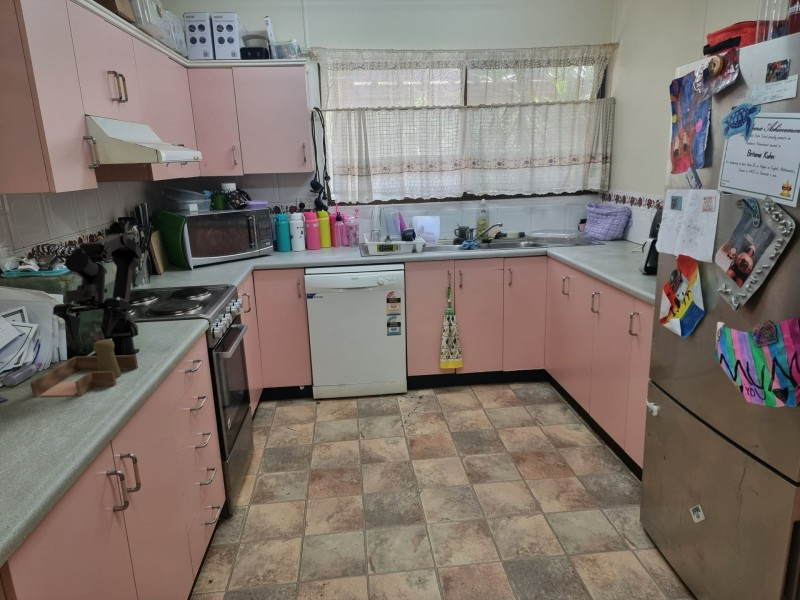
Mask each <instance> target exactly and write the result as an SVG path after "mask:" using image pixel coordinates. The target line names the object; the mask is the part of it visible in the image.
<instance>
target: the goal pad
mask: <svg viewBox="0 0 800 600" xmlns="http://www.w3.org/2000/svg"><path fill="white" fill-rule="evenodd" d="M76 381H77V380H69V381H68V380H67V381H65V380H62V381H61V382H59V383H58V384H56V385H55V386H53V387H52V388H50V389H48V390H47V391H45V392H44V393H42V394H41V395H39V396H40V397H41V398H42V397H48V398H49V397H50V398H51V397H75V396H76V395H78V394H77V389H76V384H75V382H76Z"/></svg>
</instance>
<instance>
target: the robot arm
mask: <svg viewBox="0 0 800 600" xmlns="http://www.w3.org/2000/svg"><path fill="white" fill-rule="evenodd" d="M142 255H143V254H142V250H141V248H140V246H139V244H138V243H137V242H136V241H135V240H132V239H130V238H128V235H126V234H125V233H123V232H121V233H110V234H107V236H105V237H103V238H101V239H100V240H97V241H91V242H82V243H80V244H79V246H78V247H77V248H74V249H73V253H71V254H70V255H68V256H67V258H66V260H65V262H64V263H65V266H66V267H65V268H66V269H67V270H68V271H70V272H71V273H73V275H75V276H77V277H78V278H80V279H81V280H80V281H81V284H80V285H78V286H77V288H76V289H73V290H65V291H64V293H65V300H66V303H58V304H56V305H54V306H53V308H52V315H54V316H57V317H58V318H61V319H62V320H63V321H64V323H65V324H66V327H67V329H68V332H69V335H70V337H71V341H72V340H73V341H76V340H77V338H78V334H79V329H80V323H81V319H82V318H81V317H79V316H80V315H81V313H89V312H97V311H103V313H102V318H101V323H100V328H101V332H102V334H103V337H104V339H110V340H112V341H113V342H114V350H113V351H114V354H115V356H116V355H137V353H139V351H140V350H141V349H140V348H135V343H134V338H135V337H136V336H139V326H138V325H137V323H136V322H135V321H134V319H133V316H132V314H131V312H130V296H131V288H132V279H133V273H134V271H135V270H136V269H137V268H138V267H139V266H140V260H141V259H142ZM110 259H112V262H113V264H114V265H115V267H116V271H115V277H114V285H113V292H112V297H106V299H105V294H107V293H108V289H107V288H106V287H105V285H106V274H108V271H107V269H106V268H105V266H104V265H103V264H101V263H102V262H103V263H104V262H109V261H110ZM72 302H74V304H76V305H74V304H71V303H72Z"/></svg>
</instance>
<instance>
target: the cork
mask: <svg viewBox="0 0 800 600" xmlns="http://www.w3.org/2000/svg"><path fill="white" fill-rule="evenodd" d="M92 347H93V350H94V352H95V354H96V356H97V370H96V371H114V373H115V379H116V380H117V379H119V378H120V377H121V376H122V373H121V369H119V366H118V363H117V360H116V357H115V354H114V342H113V341H112V339H105V338H103V339H99V340H97V341H95V342H94V343H93V346H92ZM118 377H119V378H118Z"/></svg>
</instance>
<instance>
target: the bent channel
mask: <svg viewBox="0 0 800 600" xmlns="http://www.w3.org/2000/svg"><path fill="white" fill-rule="evenodd" d="M115 357H116V360H117V363H118V366H119V369H120V370H137V369H138V368H139V364H138V359H137V357H138V356H137V354H134V355H116V356H115ZM76 371H77V372H78V371H89V372H87V373H86V374H85V375H84V376H81V377H80V378H79V379H77V380H75V381H76V382H75V384H76V389H77V394H76V395H77V396H78V397H81V396H83V395H85V394H86V393H87V391H88V392H89V391H90V390H92V389H93V388H95V387H115V386H117V378H116V379H115V373H114V371H98V370H97V355H86V356H85V355H83V356H82V355H81V356H79V355H77V356H73V357H71V358H70V359H68V360H66V361H65V362H63V363H62V364H60V365H58V366H56V367H55V368H52V369H51V370H50V371H47V372H46V373H44V374H42V375H41V376H39V377H38V378H36V379H34V380H32V381H31V382H30V383H29V384H30V388H31V393H32V397H33V398H37V397H39V396H40V395H42V394H43V393H45V392H46V391H48V390H49V389H51V388H53V387H54V386H56V385H57V384H59V383H60V382H62V381H65V380H66V379H68V378H69V377H70V376H72V375H74V374H75V373H77V372H76Z"/></svg>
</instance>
